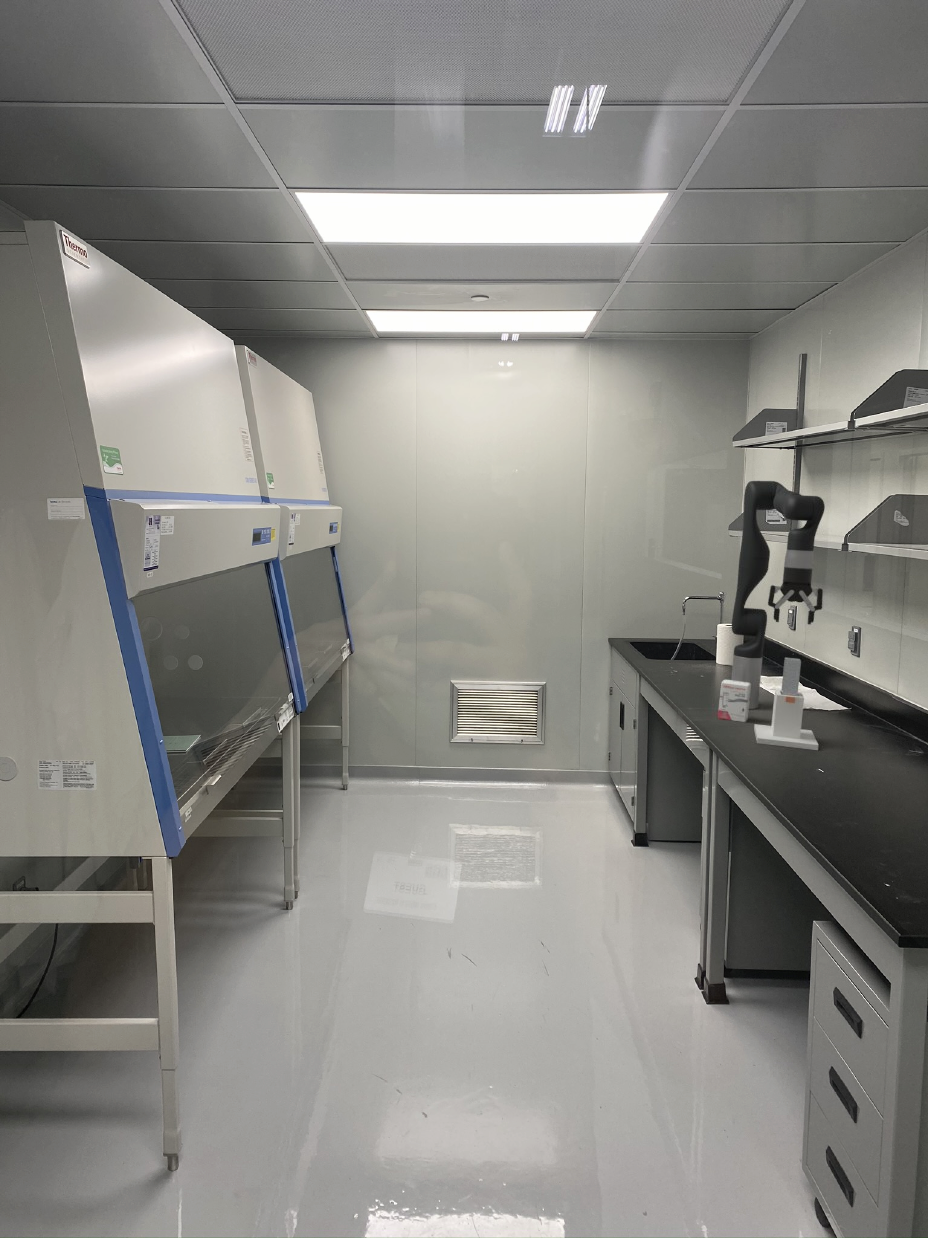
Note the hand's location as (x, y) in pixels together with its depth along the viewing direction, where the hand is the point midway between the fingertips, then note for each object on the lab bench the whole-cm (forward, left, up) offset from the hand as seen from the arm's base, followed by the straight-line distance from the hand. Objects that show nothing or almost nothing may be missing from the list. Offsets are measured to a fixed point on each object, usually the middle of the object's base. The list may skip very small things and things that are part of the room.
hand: (792, 623), depth 232 cm
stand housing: (+1, +1, -34) cm, 34 cm away
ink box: (-17, -13, -34) cm, 40 cm away
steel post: (+1, +1, -32) cm, 32 cm away
